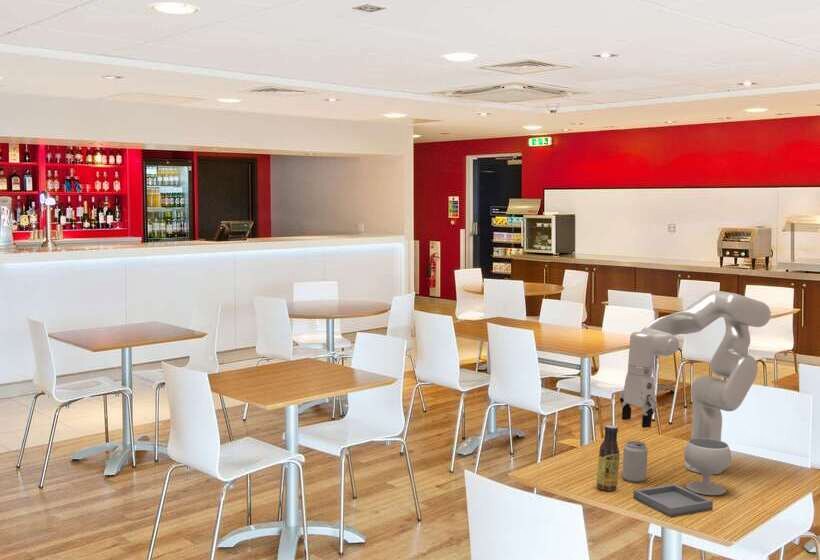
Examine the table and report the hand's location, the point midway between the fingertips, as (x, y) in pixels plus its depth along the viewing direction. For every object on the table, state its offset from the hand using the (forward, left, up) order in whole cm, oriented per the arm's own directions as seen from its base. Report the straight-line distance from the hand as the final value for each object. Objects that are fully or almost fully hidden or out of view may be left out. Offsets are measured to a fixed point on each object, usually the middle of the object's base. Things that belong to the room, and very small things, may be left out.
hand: (636, 423), depth 276 cm
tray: (+4, +22, -19) cm, 29 cm away
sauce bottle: (+14, +4, -19) cm, 23 cm away
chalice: (-15, +16, -19) cm, 29 cm away
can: (0, 0, -19) cm, 19 cm away
